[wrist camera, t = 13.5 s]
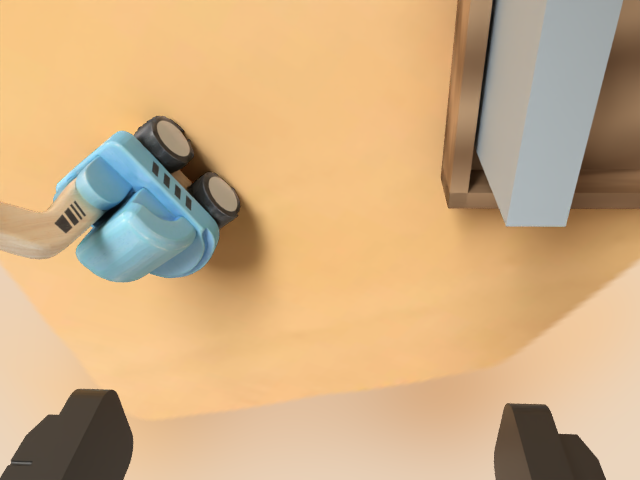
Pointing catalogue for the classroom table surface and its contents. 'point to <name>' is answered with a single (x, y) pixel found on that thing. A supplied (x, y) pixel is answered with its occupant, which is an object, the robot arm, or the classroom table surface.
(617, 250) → the classroom table surface
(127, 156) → the toy excavator
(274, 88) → the classroom table surface
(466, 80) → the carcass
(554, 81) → the blue-gray square slab
